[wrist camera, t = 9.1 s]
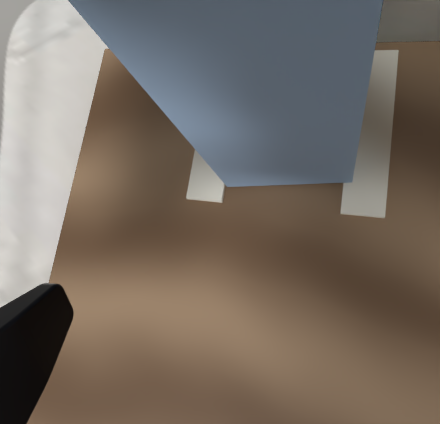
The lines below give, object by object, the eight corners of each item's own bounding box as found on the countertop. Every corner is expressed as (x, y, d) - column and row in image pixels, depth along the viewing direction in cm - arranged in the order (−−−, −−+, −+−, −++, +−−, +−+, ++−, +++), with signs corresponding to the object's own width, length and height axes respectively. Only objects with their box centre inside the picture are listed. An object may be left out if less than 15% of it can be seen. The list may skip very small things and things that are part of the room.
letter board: (559, 649, 12) (588, 692, 11) (23, 463, 18) (-1, 475, 16) (557, 57, 16) (577, 34, 14) (116, 62, 22) (102, 46, 20)
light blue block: (351, 182, 15) (434, -301, 3) (227, 187, 17) (-53, -142, 4) (348, 67, 16) (398, -616, 4) (231, 80, 18) (17, -413, 6)
